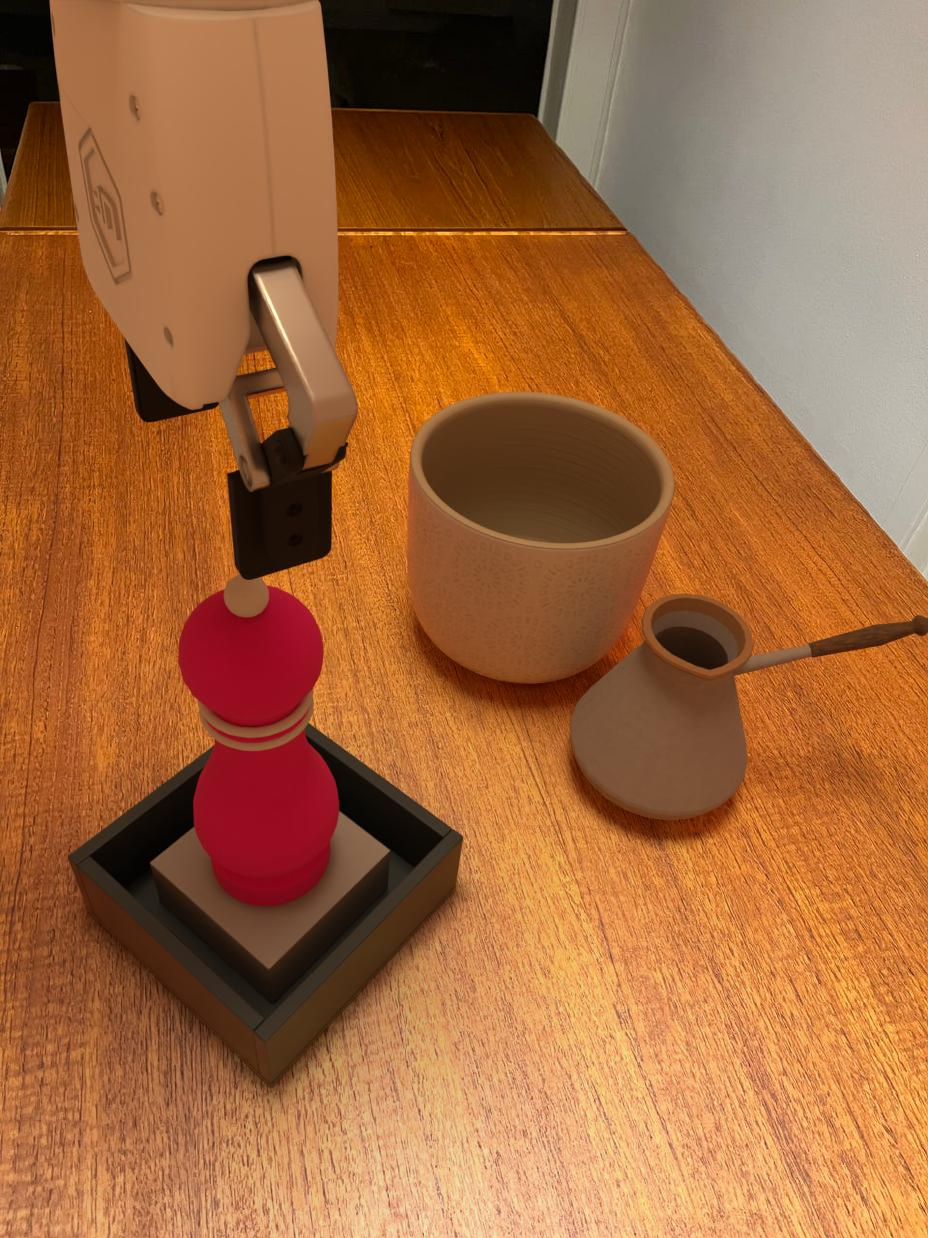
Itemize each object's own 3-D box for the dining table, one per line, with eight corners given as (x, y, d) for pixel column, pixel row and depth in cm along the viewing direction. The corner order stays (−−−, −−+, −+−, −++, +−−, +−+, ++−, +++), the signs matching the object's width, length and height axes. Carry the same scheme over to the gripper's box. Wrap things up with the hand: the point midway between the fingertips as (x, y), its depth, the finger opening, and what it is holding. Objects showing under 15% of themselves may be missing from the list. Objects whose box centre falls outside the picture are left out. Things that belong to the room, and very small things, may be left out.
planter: (420, 729, 65) (435, 557, 54) (384, 561, 77) (391, 393, 66) (658, 705, 68) (716, 539, 58) (589, 548, 80) (627, 386, 70)
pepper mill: (176, 846, 52) (114, 565, 38) (289, 777, 56) (270, 499, 42) (251, 944, 48) (213, 675, 34) (366, 864, 52) (374, 592, 38)
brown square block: (159, 901, 54) (149, 862, 51) (278, 800, 59) (274, 760, 57) (272, 1005, 50) (268, 969, 48) (388, 888, 56) (390, 850, 53)
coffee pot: (573, 840, 60) (622, 677, 49) (554, 698, 68) (592, 532, 58) (904, 846, 62) (1019, 690, 51) (847, 707, 70) (936, 548, 59)
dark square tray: (86, 911, 54) (66, 856, 50) (279, 754, 63) (275, 697, 59) (271, 1089, 48) (264, 1043, 44) (455, 889, 57) (464, 836, 53)
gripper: (-71, -173, 26) (53, 383, 38) (140, 2, 16) (218, 678, 28) (197, -161, 30) (234, 348, 41) (508, -10, 20) (439, 601, 32)
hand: (227, 481), depth 35 cm, fingers open, 9 cm apart
